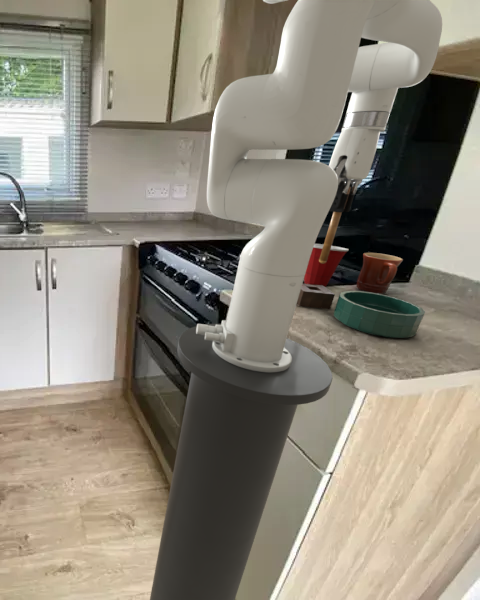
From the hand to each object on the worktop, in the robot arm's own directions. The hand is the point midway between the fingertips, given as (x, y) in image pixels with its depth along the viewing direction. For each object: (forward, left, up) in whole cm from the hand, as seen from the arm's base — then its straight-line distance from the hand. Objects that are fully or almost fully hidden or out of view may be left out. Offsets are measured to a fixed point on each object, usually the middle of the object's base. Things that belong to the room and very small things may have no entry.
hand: (337, 210), depth 82 cm
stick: (0, 0, -13) cm, 13 cm away
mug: (+22, +17, -23) cm, 36 cm away
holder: (0, +1, -23) cm, 23 cm away
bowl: (+9, -10, -23) cm, 27 cm away
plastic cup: (+8, +20, -23) cm, 32 cm away
